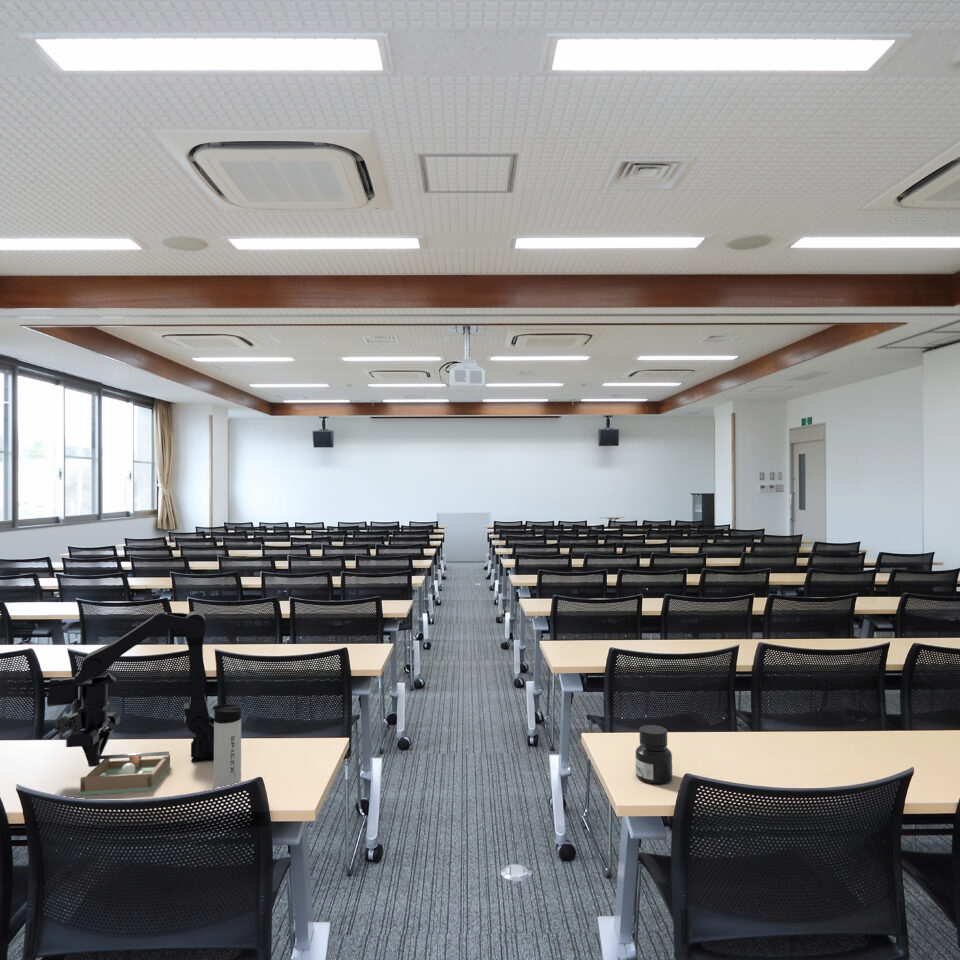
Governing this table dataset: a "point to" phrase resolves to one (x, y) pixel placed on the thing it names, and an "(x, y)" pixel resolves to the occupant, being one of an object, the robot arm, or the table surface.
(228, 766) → the travel mug
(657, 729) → the ink bottle
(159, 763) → the pitch
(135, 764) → the rubber mallet
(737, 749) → the table surface
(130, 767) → the ball
